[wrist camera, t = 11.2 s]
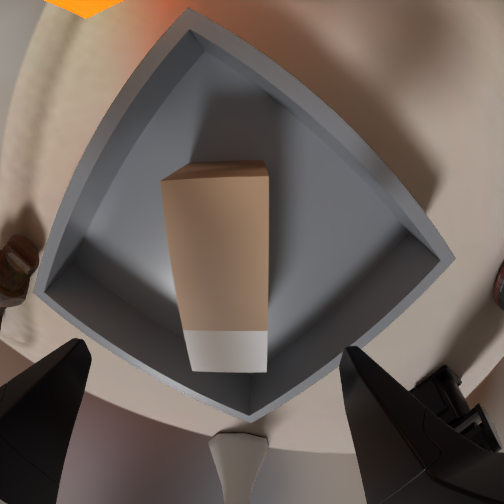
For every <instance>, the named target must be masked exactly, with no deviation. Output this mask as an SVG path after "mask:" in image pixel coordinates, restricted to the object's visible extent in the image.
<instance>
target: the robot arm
mask: <svg viewBox="0 0 504 504" xmlns="http://www.w3.org/2000/svg"><path fill="white" fill-rule="evenodd" d="M91 361H92V357H91V354H90V352H89V350H88V348H87V345H86V343H85V341H84V340H82V339H77V338H73V339H71V340H70V341H68V342H67V343H65V344H64V345H62V346H61V347H59V348H58V349H56V350H55V351H53V352H52V353H50V354H49V355H47V356H45V357H44V358H42V359H41V360H39V361H38V362H36V363H35V364H33V365H32V366H30V367H29V368H28V369H26V370H25V371H23V372H22V373H20V374H19V375H17V376H16V377H14V378H13V379H11V380H10V381H8V383H5V384H4V385H2V386H1V387H0V504H56V500H57V495H58V489H59V483H60V479H61V474H62V470H63V465H64V461H65V457H66V453H67V449H68V445H69V442H70V438H71V434H72V431H73V427H74V424H75V420H76V417H77V414H78V411H79V408H80V404H81V401H82V398H83V395H84V391H85V386H86V382H87V378H88V374H89V369H90V365H91ZM339 370H340V377H341V384H342V391H343V398H344V405H345V411H346V415H347V419H348V423H349V427H350V431H351V435H352V439H353V443H354V447H355V451H356V456H357V460H358V464H359V469H360V473H361V478H362V482H363V487H364V491H365V496H366V501H367V504H504V453H499V452H498V451H500V450H501V449H502V445H501V442H500V440H499V437H498V434H497V431H496V429H495V426H494V423H493V422H492V420H491V418H490V416H489V414H488V413H487V411H486V409H485V408H484V407H482V405H480V403H478V404H477V405H476V406H475V407H474V408H473V409H472V410H470V408H469V406H468V404H467V402H466V400H465V398H464V396H463V395H462V393H461V391H460V389H459V387H458V386H459V385H461V383H462V381H461V380H460V379H459V378H458V376H457V375H456V374H455V373H454V372H453V371H452V370H451V369H450V368H449V367H448V366H444V367H442V368H441V369H440V370H439V371H437V372H436V373H435V374H434V375H433V376H431V377H430V378H429V379H428V380H426V381H425V382H424V383H422V384H421V385H420V386H419V387H417V388H416V389H415V390H413V391H412V392H411V393H410V392H409V391H408V390H406V389H405V388H404V387H403V386H402V385H401V384H400V383H398V382H397V381H396V380H395V379H394V378H393V377H392V376H391V375H389V374H388V373H387V372H386V371H385V370H384V369H383V368H382V367H380V366H379V365H378V364H377V363H376V362H375V361H374V360H372V359H371V358H370V357H369V356H368V355H367V354H366V353H365V352H363V351H362V350H361V349H360V348H359V347H358V346H346V347H345V348H344V350H343V353H342V357H341V361H340V365H339ZM479 421H482V423H480V424H479V425H478V424H477V423H478V422H479Z"/></svg>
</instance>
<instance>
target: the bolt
mask: <svg viewBox="0 0 504 504" xmlns="http://www.w3.org/2000/svg"><path fill="white" fill-rule="evenodd" d="M38 265H39V255H38V252H37V250H36V248H35V247H34V245H33V244H32V243H31V242H30V241H29V240H28V239H27V238H25V237H23V236H20V235H14V236H12V237H11V238H10V239H9V240H8V242H7V243H6V245H5V247H4V249H3V250H0V329H1V323H2V315H1V314H2V313H3V312H4V310H5V309H6V307H12V306H17V305H20V304H22V302H23V301H24V300H25V298H26V295H27V291H28V287H29V281H30V276H31V275H32V274H33V273H34V272H35V270H36V269H37V268H38Z"/></svg>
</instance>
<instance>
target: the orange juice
mask: <svg viewBox="0 0 504 504" xmlns="http://www.w3.org/2000/svg"><path fill="white" fill-rule="evenodd" d="M45 1H47V2H50V3H52V4H54V5H57V6H59V7H62V8H64V9H66V10H68V11H71V12H73V13H75V14H77V15H79V16H81V17H84V18H86V19H88V18H89V17H91V16H93V15H95V14H97V13H99V12H101V11H103V10H105V9H107V8H109V7H111V6H113V5H115V4H117V3H119V2H122V1H124V0H45Z"/></svg>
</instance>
